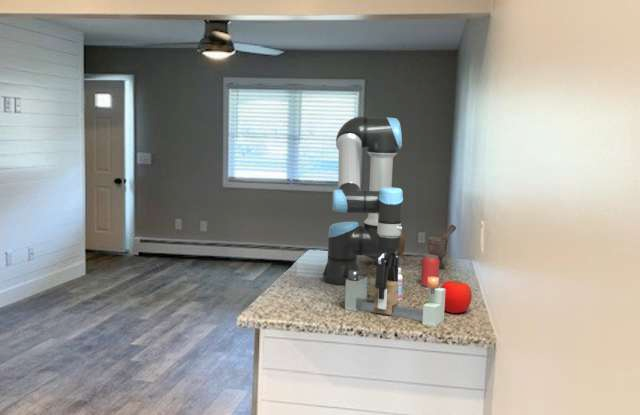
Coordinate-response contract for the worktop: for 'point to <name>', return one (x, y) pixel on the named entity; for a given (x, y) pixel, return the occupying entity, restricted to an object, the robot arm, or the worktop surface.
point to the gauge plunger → (433, 283)
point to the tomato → (456, 296)
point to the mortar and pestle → (440, 245)
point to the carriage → (388, 297)
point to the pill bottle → (400, 284)
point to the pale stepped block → (434, 308)
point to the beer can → (429, 268)
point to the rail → (358, 295)
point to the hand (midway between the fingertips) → (385, 306)
